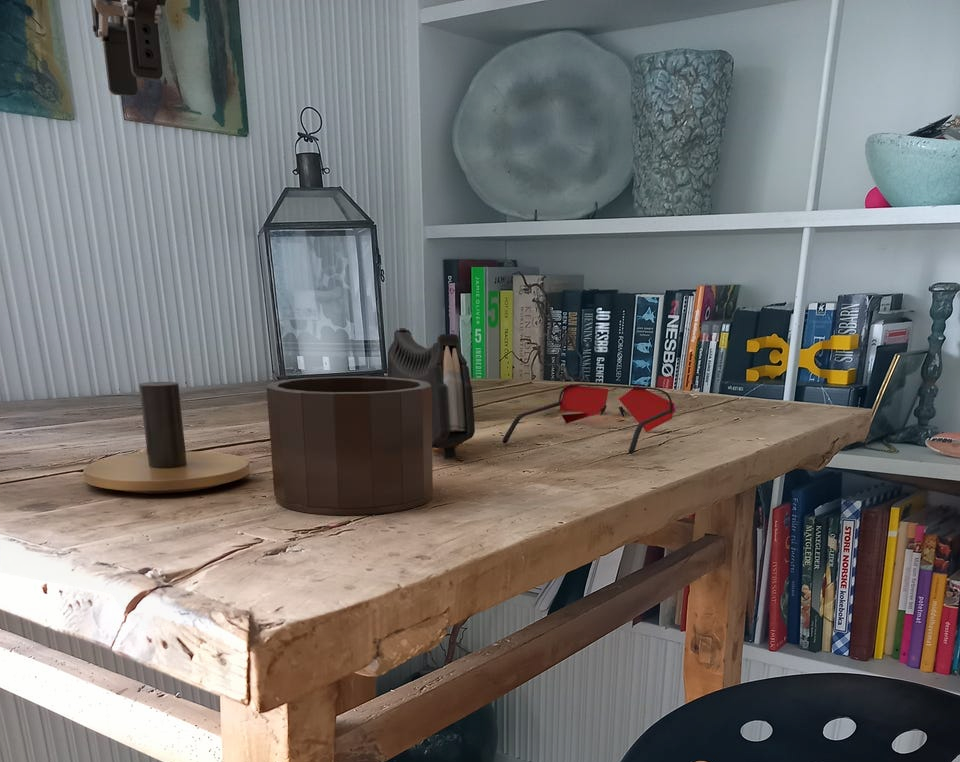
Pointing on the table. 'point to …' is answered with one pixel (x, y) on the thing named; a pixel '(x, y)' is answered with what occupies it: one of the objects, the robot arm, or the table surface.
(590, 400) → the glasses
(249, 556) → the table surface
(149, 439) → the lid
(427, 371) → the magazine
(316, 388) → the brown faceted tub
